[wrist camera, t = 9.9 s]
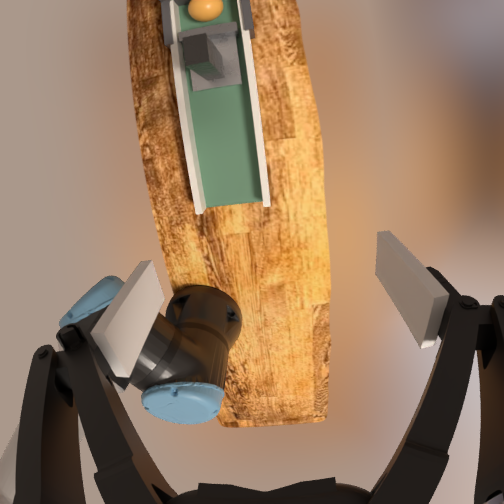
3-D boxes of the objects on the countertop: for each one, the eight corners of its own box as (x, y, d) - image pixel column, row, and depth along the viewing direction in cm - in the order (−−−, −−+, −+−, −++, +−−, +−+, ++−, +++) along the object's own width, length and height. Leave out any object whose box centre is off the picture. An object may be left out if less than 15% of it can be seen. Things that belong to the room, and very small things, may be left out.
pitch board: (269, 198, 45) (270, 206, 41) (202, 205, 46) (196, 214, 42) (242, -12, 29) (240, -23, 25) (174, 1, 30) (165, -8, 26)
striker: (245, 83, 36) (238, 68, 24) (191, 92, 36) (161, 82, 25) (238, 28, 32) (228, -5, 20) (184, 38, 32) (154, 11, 21)
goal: (255, 38, 34) (253, 24, 27) (174, 52, 35) (159, 42, 28) (247, -8, 30) (245, -27, 23) (170, 6, 31) (156, -9, 24)
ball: (219, 19, 32) (217, 28, 30) (187, 15, 31) (182, 23, 29) (227, -7, 28) (226, -2, 26) (194, -12, 26) (189, -7, 24)
